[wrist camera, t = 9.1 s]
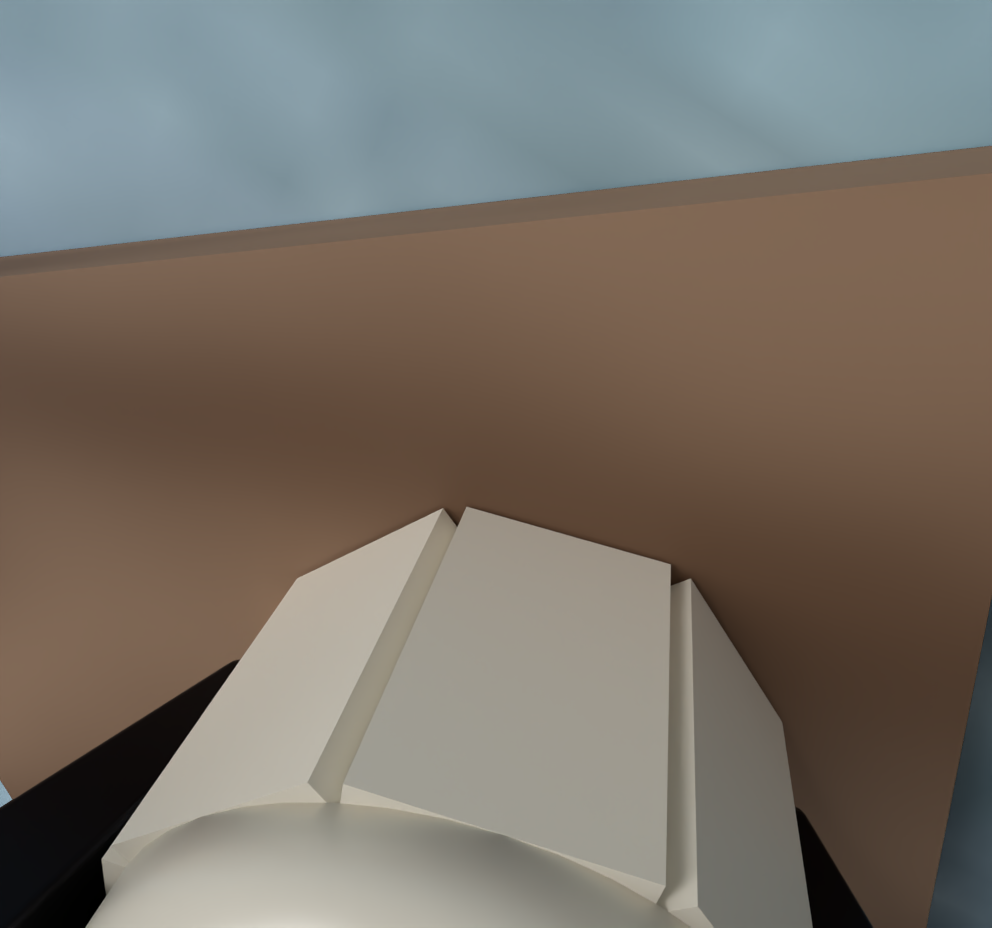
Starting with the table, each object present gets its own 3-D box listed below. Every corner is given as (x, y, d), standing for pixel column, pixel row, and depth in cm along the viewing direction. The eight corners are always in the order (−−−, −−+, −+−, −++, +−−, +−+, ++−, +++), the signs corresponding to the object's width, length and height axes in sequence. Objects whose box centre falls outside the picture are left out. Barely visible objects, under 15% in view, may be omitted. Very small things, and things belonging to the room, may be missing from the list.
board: (849, 1180, 16) (860, 1260, 15) (244, 1067, 19) (220, 1125, 18) (1016, 142, 7) (1077, 164, 6) (-201, 280, 10) (-301, 307, 9)
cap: (672, 927, 11) (667, 1416, 7) (273, 800, 11) (66, 1192, 8) (854, 617, 8) (1025, 1183, 4) (297, 459, 8) (-33, 829, 4)
